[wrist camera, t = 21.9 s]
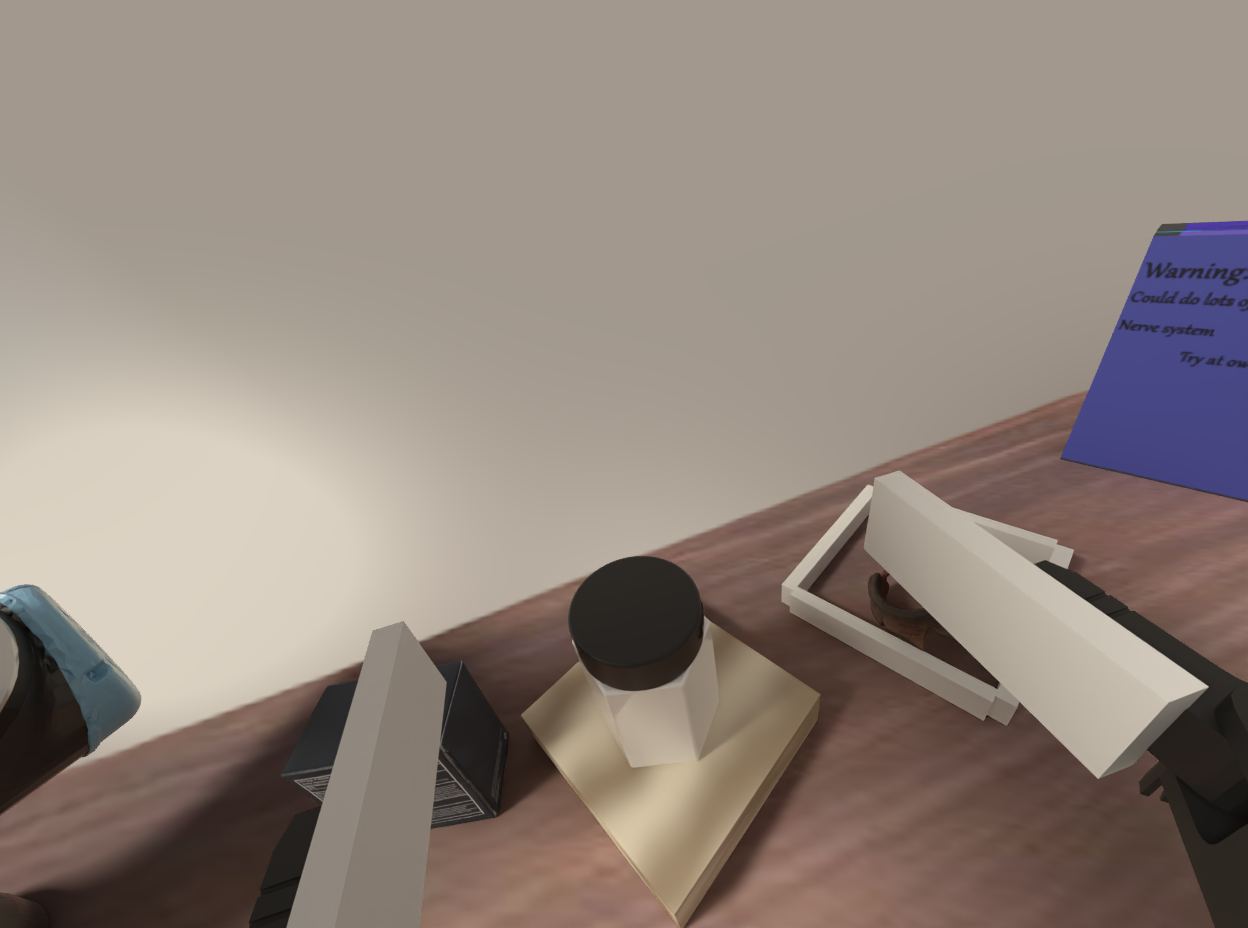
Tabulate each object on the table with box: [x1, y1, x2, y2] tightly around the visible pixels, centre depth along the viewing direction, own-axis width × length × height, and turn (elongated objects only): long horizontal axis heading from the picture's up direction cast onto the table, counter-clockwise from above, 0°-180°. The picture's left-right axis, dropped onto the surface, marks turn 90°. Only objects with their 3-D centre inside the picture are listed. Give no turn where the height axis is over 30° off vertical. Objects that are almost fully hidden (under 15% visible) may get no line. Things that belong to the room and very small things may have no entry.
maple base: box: [521, 621, 821, 928], centre depth 35 cm, size 16×16×4 cm
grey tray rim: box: [782, 485, 1074, 726], centre depth 41 cm, size 17×19×2 cm
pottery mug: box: [868, 570, 955, 650], centre depth 38 cm, size 12×10×8 cm
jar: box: [568, 556, 720, 768], centre depth 30 cm, size 9×8×12 cm
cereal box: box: [1060, 221, 1248, 502], centre depth 41 cm, size 17×5×24 cm, turn 42°
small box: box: [281, 661, 508, 829], centre depth 33 cm, size 11×6×10 cm, turn 95°
